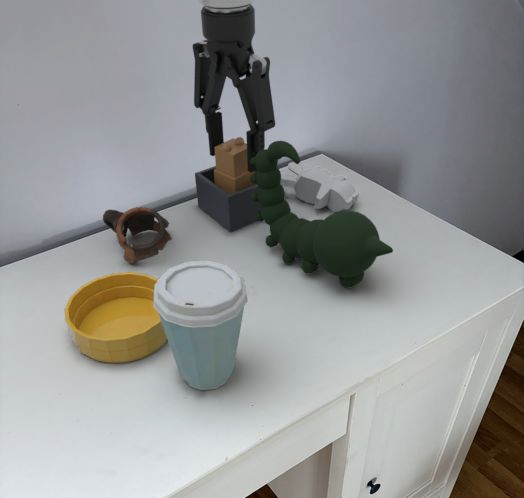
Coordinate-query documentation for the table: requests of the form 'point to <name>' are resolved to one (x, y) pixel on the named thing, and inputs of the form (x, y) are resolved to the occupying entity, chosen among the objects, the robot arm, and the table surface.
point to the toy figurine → (313, 226)
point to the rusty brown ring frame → (138, 231)
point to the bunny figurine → (320, 187)
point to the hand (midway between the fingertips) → (235, 160)
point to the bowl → (116, 318)
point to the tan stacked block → (232, 166)
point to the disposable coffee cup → (202, 319)
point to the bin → (226, 202)
